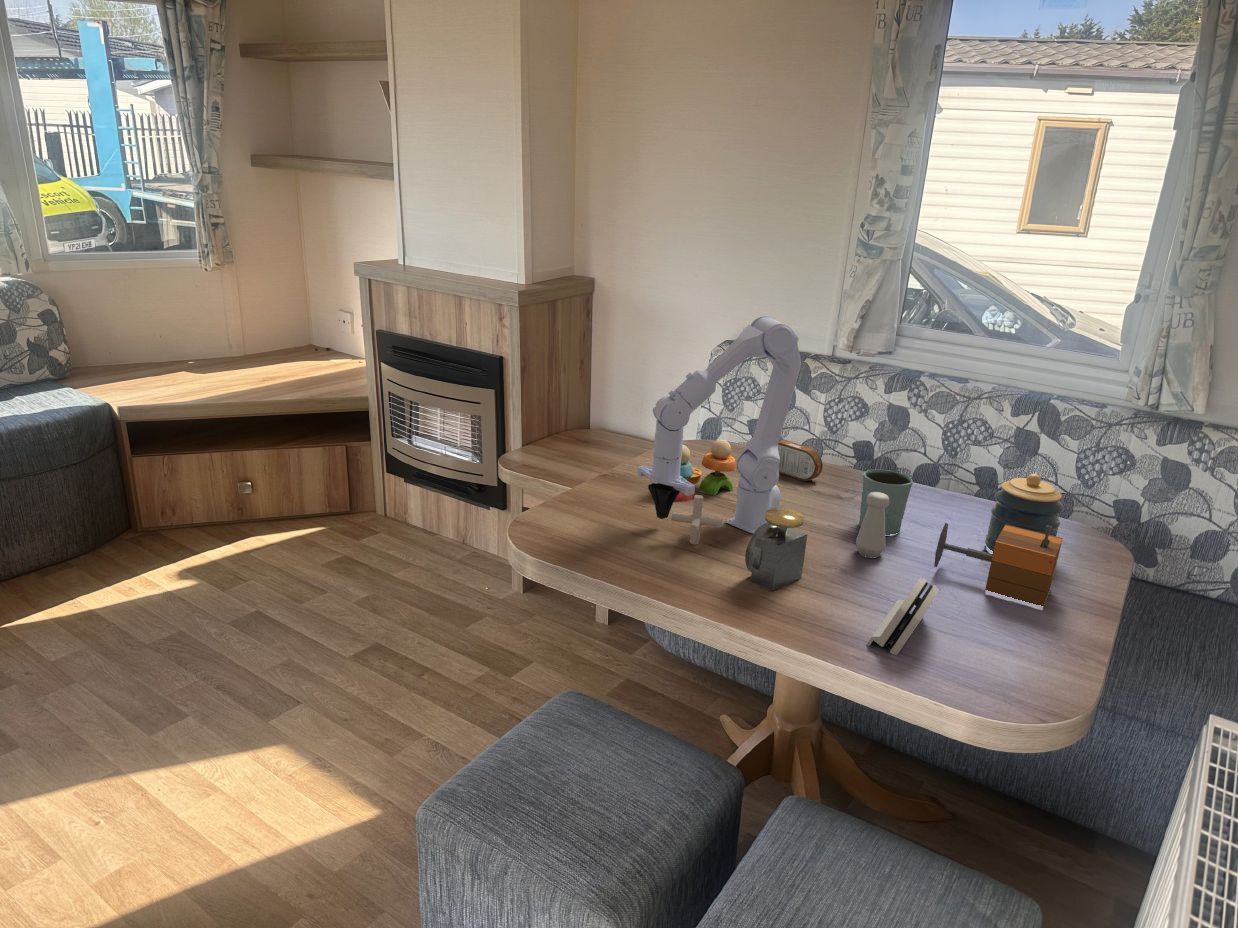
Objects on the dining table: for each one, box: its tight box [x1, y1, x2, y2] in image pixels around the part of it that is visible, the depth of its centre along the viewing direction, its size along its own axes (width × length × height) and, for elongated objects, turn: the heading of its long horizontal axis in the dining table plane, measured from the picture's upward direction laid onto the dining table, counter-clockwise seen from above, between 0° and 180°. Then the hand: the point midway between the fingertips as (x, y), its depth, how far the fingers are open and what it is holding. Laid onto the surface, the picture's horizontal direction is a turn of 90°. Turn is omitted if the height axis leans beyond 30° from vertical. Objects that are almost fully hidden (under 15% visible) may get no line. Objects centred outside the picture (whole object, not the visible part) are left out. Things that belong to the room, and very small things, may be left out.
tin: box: [777, 439, 824, 482], centre depth 219 cm, size 15×3×8 cm, turn 46°
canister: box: [984, 473, 1065, 551], centre depth 179 cm, size 13×13×18 cm
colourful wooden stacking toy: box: [674, 439, 737, 503], centre depth 206 cm, size 18×17×12 cm
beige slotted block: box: [866, 577, 940, 656], centre depth 147 cm, size 17×5×10 cm, turn 148°
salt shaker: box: [855, 492, 889, 559], centre depth 176 cm, size 6×6×13 cm
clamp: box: [933, 522, 1064, 607], centre depth 165 cm, size 11×20×14 cm, turn 58°
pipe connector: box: [670, 494, 723, 545], centre depth 176 cm, size 10×10×10 cm
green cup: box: [858, 469, 913, 535], centre depth 189 cm, size 10×10×12 cm
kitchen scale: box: [744, 507, 808, 592], centre depth 162 cm, size 10×8×13 cm
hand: (662, 517), depth 183 cm, fingers closed
